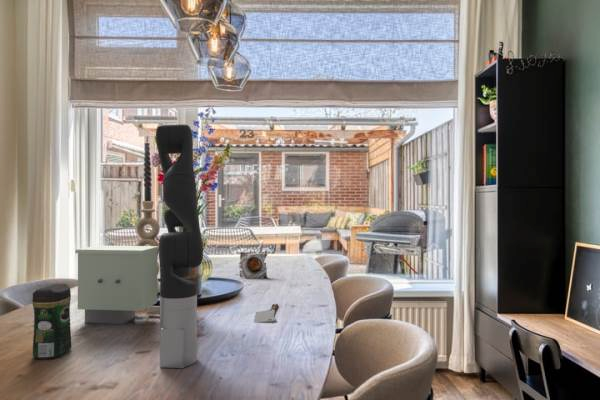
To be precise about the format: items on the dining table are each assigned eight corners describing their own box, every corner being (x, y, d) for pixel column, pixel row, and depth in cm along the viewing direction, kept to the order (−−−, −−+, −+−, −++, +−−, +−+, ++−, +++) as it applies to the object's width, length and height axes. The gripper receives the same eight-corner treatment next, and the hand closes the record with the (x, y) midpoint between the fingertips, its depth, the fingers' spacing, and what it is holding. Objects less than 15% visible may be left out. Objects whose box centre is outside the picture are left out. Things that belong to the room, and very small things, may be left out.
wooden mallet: (183, 316, 157) (183, 293, 157) (144, 315, 158) (144, 292, 158) (187, 313, 161) (187, 291, 161) (149, 312, 162) (149, 290, 162)
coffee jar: (47, 348, 126) (47, 281, 126) (75, 348, 125) (75, 282, 125) (26, 360, 116) (26, 288, 116) (56, 360, 116) (56, 289, 116)
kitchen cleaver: (258, 304, 176) (283, 303, 175) (258, 307, 176) (283, 306, 175) (246, 322, 152) (275, 321, 151) (246, 325, 152) (275, 324, 151)
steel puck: (144, 324, 150) (144, 318, 150) (130, 324, 150) (130, 318, 150) (151, 320, 155) (151, 314, 155) (137, 320, 155) (137, 314, 155)
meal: (268, 277, 240) (268, 252, 240) (266, 278, 236) (266, 253, 236) (240, 276, 242) (240, 252, 242) (238, 277, 238) (238, 253, 238)
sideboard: (141, 328, 144) (142, 250, 144) (74, 326, 146) (74, 249, 146) (159, 317, 158) (159, 246, 158) (97, 316, 160) (97, 245, 160)
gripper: (182, 266, 152) (182, 316, 152) (196, 260, 166) (196, 306, 166) (161, 265, 153) (161, 316, 153) (176, 260, 167) (176, 306, 167)
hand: (179, 311), depth 159 cm, fingers closed on wooden mallet, 4 cm apart
